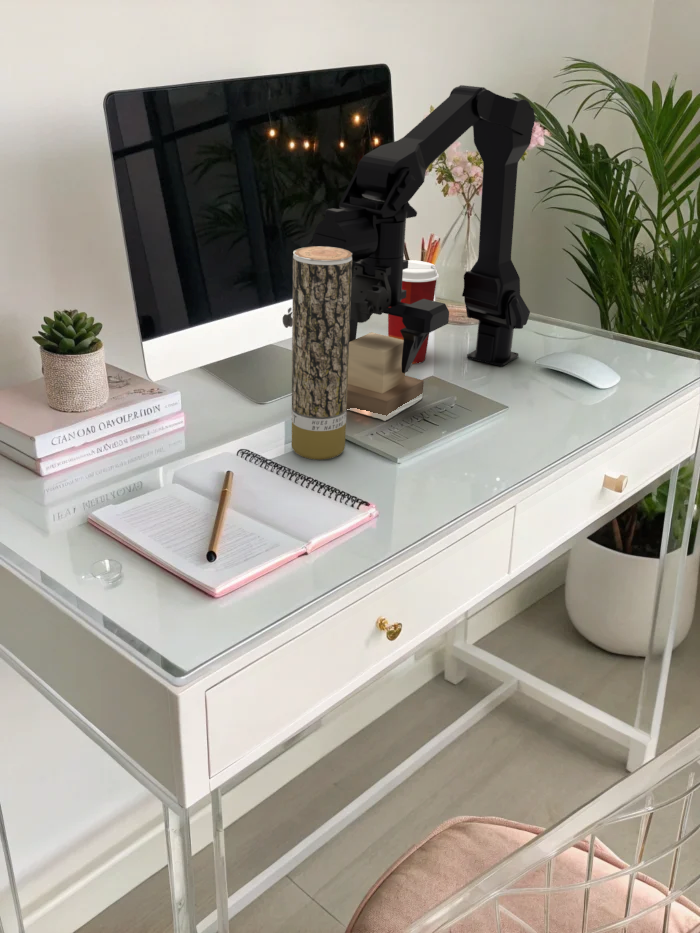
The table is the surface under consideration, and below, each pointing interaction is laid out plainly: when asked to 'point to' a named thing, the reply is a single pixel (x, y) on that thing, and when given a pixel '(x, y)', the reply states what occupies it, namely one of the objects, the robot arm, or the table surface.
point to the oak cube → (375, 362)
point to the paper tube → (320, 350)
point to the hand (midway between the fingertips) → (376, 364)
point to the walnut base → (384, 396)
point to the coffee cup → (415, 297)
